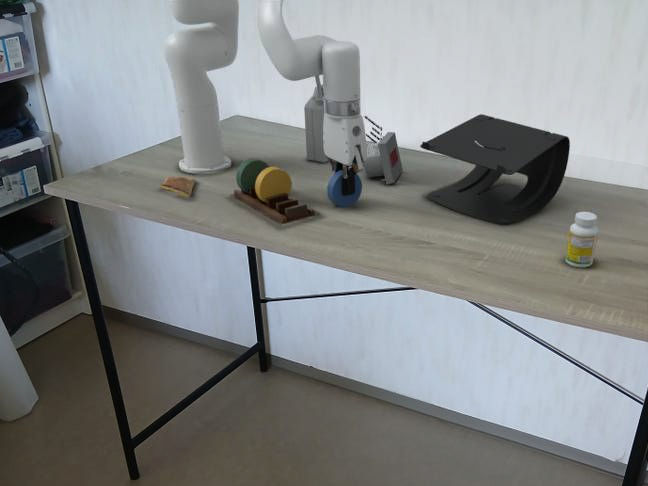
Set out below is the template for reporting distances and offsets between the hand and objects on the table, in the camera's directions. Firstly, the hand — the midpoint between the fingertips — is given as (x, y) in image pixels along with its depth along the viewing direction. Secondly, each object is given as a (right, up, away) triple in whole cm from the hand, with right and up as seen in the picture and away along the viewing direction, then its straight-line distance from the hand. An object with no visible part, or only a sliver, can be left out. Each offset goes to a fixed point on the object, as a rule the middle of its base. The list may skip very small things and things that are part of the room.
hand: (344, 191), depth 164 cm
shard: (-38, +2, +8) cm, 39 cm away
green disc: (-21, +1, +5) cm, 21 cm away
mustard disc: (-16, -3, 0) cm, 16 cm away
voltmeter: (+6, +11, +25) cm, 28 cm away
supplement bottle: (+47, -18, -18) cm, 54 cm away
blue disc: (0, -3, +2) cm, 3 cm away
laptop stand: (+33, 0, +8) cm, 34 cm away
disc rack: (-16, -3, +1) cm, 16 cm away
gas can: (-8, +16, +31) cm, 36 cm away
